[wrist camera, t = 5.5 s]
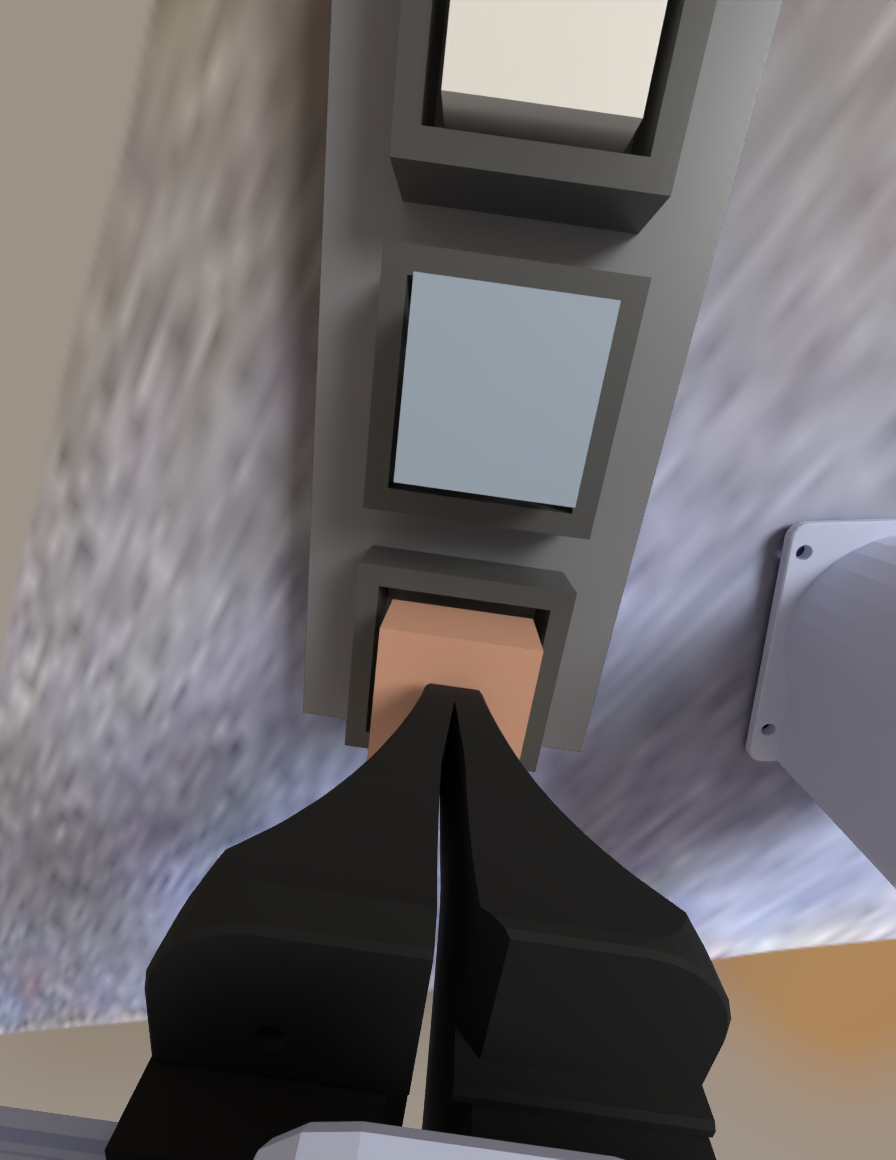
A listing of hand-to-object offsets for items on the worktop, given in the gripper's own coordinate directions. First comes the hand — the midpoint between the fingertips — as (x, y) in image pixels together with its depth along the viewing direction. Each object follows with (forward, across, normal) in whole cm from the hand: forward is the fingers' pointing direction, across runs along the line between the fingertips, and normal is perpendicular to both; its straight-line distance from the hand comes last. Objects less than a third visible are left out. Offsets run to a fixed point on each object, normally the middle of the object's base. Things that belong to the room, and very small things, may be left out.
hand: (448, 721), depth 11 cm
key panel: (+6, 0, -8) cm, 10 cm away
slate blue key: (+2, 0, -8) cm, 8 cm away
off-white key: (+4, 0, -15) cm, 16 cm away
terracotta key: (+3, 0, 0) cm, 3 cm away
